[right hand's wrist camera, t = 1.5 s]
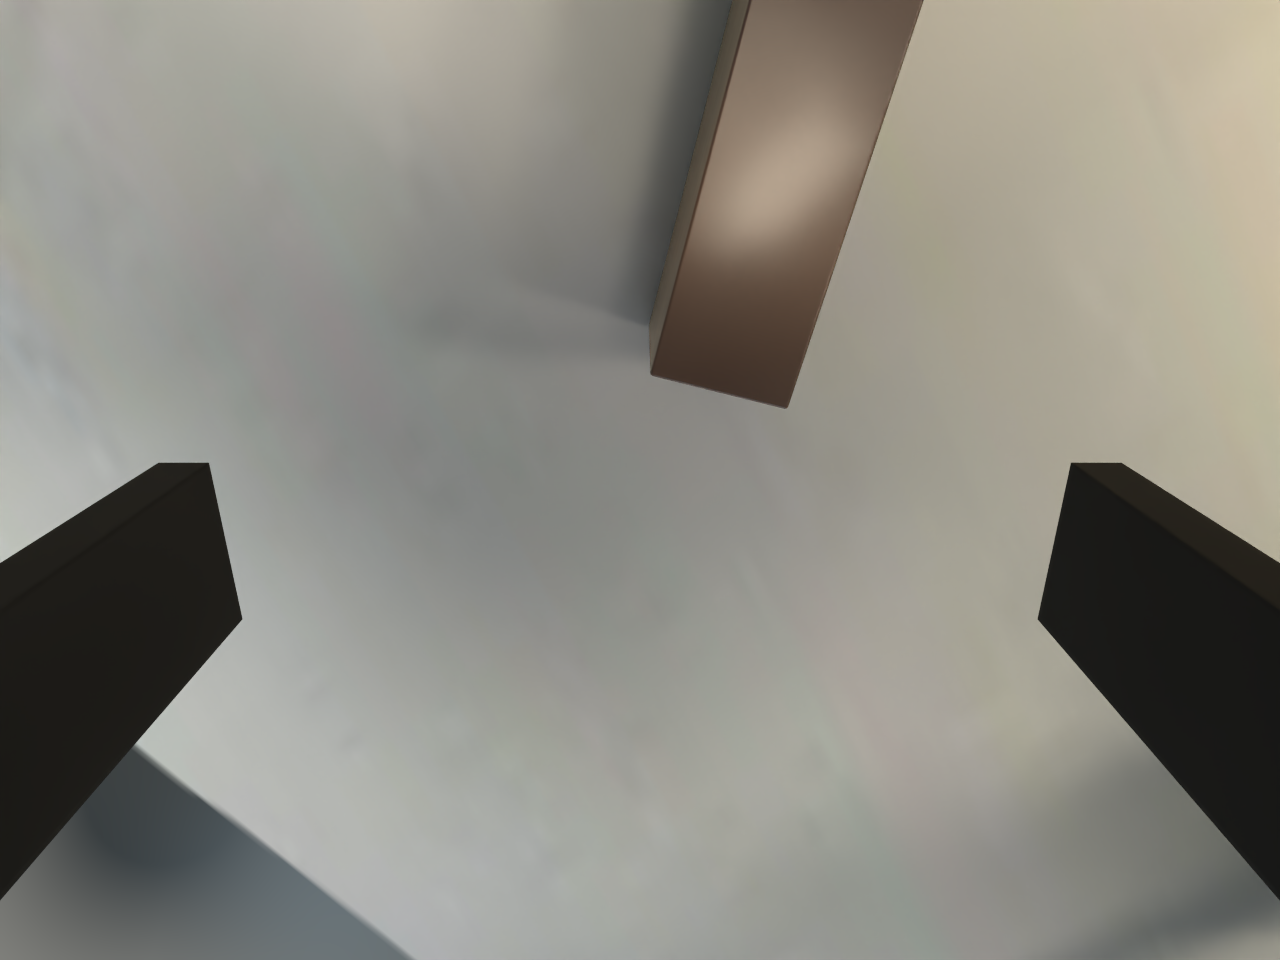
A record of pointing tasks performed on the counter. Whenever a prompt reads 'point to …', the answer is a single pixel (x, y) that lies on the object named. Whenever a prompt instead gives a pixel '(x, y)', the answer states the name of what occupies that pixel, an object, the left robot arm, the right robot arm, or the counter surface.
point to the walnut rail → (773, 189)
